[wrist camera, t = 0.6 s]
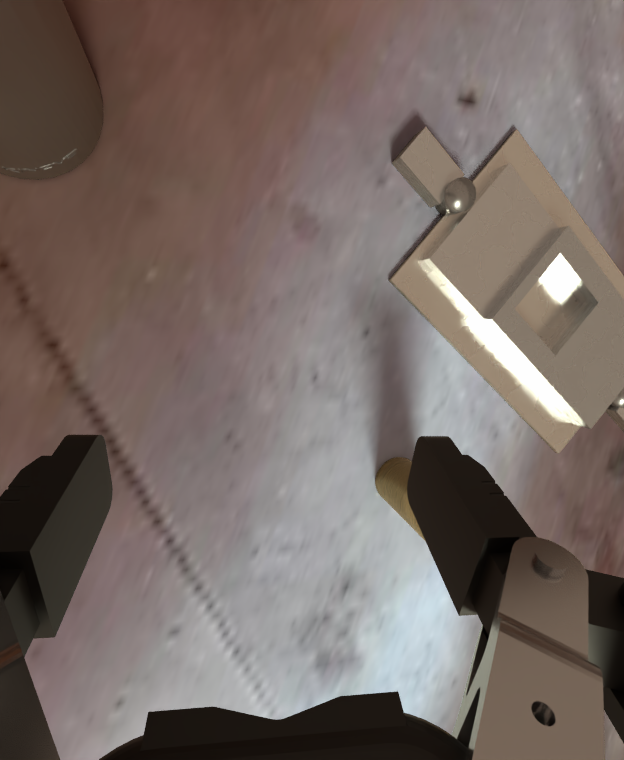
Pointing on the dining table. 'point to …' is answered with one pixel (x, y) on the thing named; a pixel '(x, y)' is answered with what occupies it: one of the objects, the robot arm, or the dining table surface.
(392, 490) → the pin
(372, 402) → the dining table surface
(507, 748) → the robot arm
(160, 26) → the dining table surface
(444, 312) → the peg-in-hole plate
